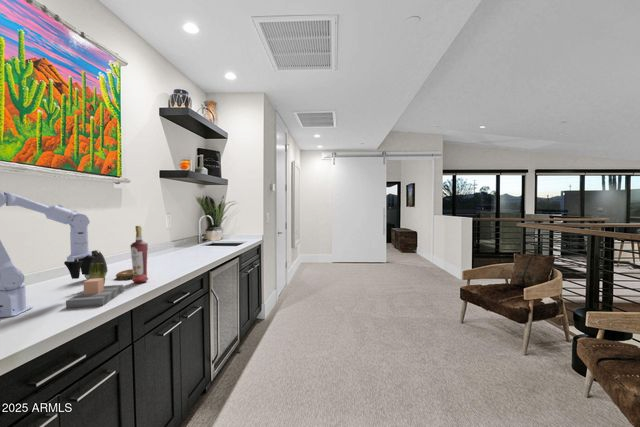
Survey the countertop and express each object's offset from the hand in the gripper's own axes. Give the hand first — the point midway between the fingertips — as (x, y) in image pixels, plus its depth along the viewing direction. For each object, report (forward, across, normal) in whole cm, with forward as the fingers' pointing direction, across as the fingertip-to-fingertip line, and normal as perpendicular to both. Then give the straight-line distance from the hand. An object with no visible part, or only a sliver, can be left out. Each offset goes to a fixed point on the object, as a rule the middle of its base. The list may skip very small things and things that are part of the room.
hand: (80, 276), depth 124 cm
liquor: (+9, +24, -14) cm, 29 cm away
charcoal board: (+9, -2, -7) cm, 12 cm away
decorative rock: (+10, +39, -5) cm, 40 cm away
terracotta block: (+6, -2, -6) cm, 9 cm away
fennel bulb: (+10, +17, +2) cm, 19 cm away
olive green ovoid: (+10, +38, +11) cm, 40 cm away
